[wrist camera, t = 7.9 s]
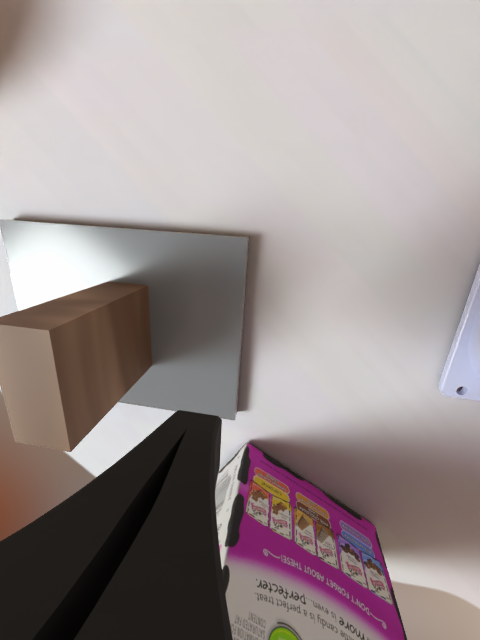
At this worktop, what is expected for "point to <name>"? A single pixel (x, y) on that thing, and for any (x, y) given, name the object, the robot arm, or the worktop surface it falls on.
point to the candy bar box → (298, 559)
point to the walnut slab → (73, 361)
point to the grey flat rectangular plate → (150, 300)
